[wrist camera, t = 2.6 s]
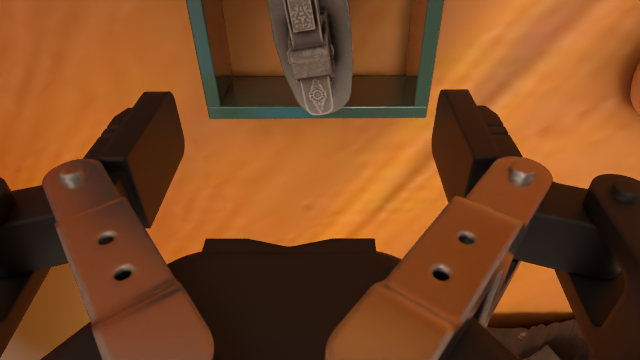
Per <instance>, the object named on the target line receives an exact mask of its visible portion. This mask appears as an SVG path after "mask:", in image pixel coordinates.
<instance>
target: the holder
mask: <svg viewBox="0 0 640 360" xmlns="http://www.w3.org/2000/svg"><path fill="white" fill-rule="evenodd" d="M186 4H187V9H188V14H189V19H190V24H191V29H192V34H193V39H194V44H195V49H196V54H197V59H198V64H199V69H200V74H201V79H202V84H203V89H204V94H205V99H206V104H207V109H208V114H209V118H210V119H277V118H426V115H427V108H428V103H429V96H430V90H431V83H432V77H433V70H434V64H435V57H436V51H437V44H438V38H439V31H440V24H441V18H442V11H443V5H444V0H413V6H412V15H411V24H410V33H409V42H408V51H407V60H406V69H405V76H352V84H351V94H350V98H349V101H348V102H347V103H346V104H345V105H344V107H342V108H341V109H339V110H338V111H336V112H333V113H329V114H324V115H312V114H310V113H309V112H308V111H307V110H305V109H304V108H302V107H301V106H300V105H299V103H298V102H297V100H296V98H295V96H294V93H293V91H292V89H291V87H290V85H289V82H288V80H287V78H286V77H232V71H231V64H230V58H229V51H228V44H227V38H226V31H225V24H224V18H223V11H222V4H221V0H186Z"/></svg>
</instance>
